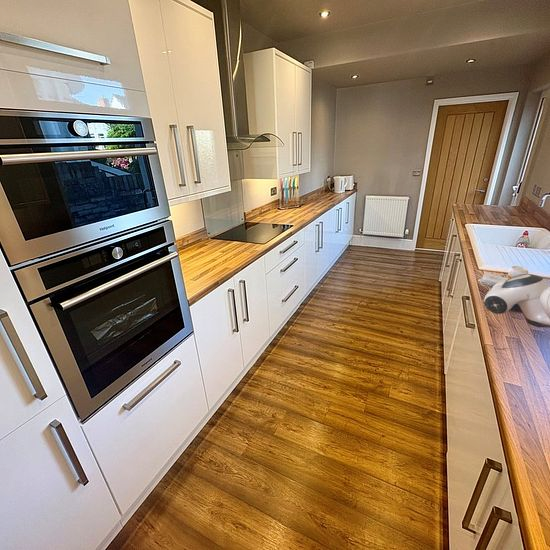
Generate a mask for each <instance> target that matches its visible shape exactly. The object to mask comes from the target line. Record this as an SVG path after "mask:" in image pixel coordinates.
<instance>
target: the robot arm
mask: <svg viewBox="0 0 550 550" xmlns="http://www.w3.org/2000/svg"><path fill="white" fill-rule="evenodd" d="M477 283H480V285H481V286H483V287H485V288H489V290H488V291H487V293H486V294H485V295H484V298H483V304H484V306H485V308H486V309H487V310H488V311H489V312H491V313H493V314H495V315H503V314H506V313H507V312H509V311H511V310H510V309H511V308H512V307H513V306H514V305H515V304H518V305H519V306H520V308H521V310H522V312H523V313H522V312H521V313H522V314H523V317H524V318H525V320H526V322H527V324H528V325H530V326H532V327H536V328H542V329H543V328H549V329H550V285H548V284H547V282H546V281H545V279H544V277H542V276H540V275H537V274H533V273H528V274H523V275H519V276H515V277H512V278H510V279H509V278H507V276H506V275H505V274H494V273H490V272H485V273H484V274H483V275H482V277H481V278H479V279H478V280H477ZM490 288H492V289H490Z"/></svg>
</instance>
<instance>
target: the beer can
mask: <svg viewBox="0 0 550 550" xmlns="http://www.w3.org/2000/svg"><path fill="white" fill-rule="evenodd" d="M523 274H529V269H528V268H526V267H523V266H519V265H518V266H517V265H513V266H511V267H510V268H509V270H508V273H507V274H506V278H509V279H510V278H512V277H515V276H519V275H523Z"/></svg>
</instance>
